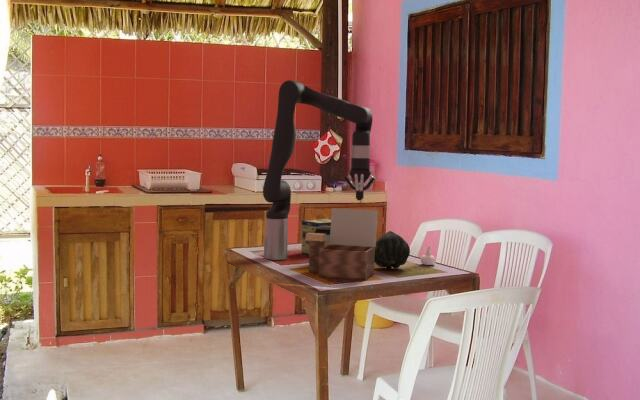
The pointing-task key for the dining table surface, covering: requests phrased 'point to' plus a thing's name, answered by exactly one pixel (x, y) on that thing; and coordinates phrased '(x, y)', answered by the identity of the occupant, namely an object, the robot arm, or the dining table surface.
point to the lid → (353, 227)
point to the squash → (391, 251)
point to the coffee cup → (324, 231)
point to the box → (341, 261)
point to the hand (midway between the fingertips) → (359, 200)
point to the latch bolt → (315, 237)
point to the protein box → (311, 231)
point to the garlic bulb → (428, 258)
